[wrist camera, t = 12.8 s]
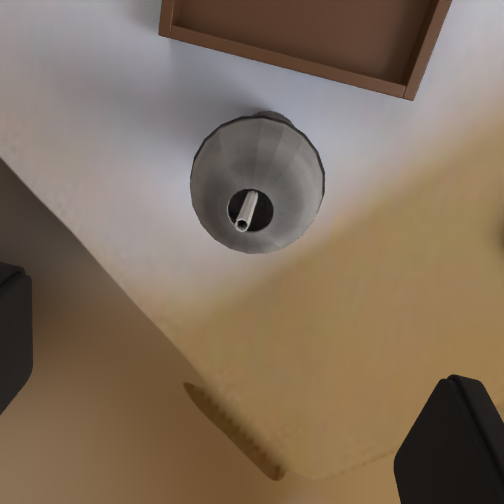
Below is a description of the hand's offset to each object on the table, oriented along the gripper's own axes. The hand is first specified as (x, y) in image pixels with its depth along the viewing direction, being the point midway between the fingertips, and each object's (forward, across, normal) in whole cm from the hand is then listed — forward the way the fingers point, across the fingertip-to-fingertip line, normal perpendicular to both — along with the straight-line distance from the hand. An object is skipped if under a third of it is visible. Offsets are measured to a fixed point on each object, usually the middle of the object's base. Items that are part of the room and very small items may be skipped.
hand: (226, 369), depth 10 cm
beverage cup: (+26, +1, +1) cm, 26 cm away
